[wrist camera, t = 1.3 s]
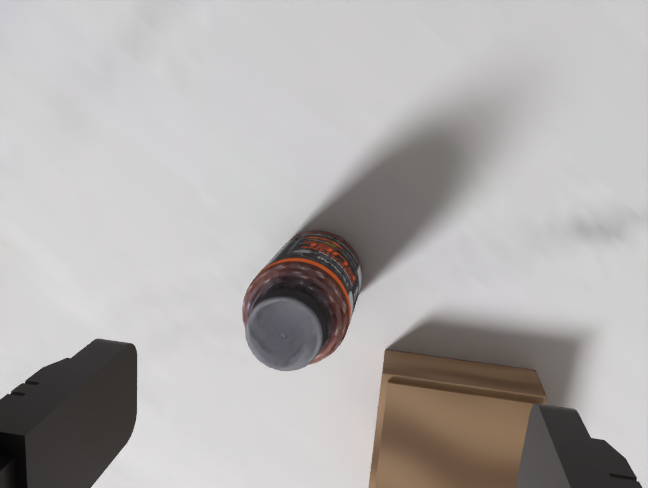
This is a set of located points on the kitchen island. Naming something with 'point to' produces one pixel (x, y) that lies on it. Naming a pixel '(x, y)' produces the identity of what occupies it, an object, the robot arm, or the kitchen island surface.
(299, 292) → the supplement bottle
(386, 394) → the plinth
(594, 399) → the kitchen island surface
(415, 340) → the kitchen island surface
